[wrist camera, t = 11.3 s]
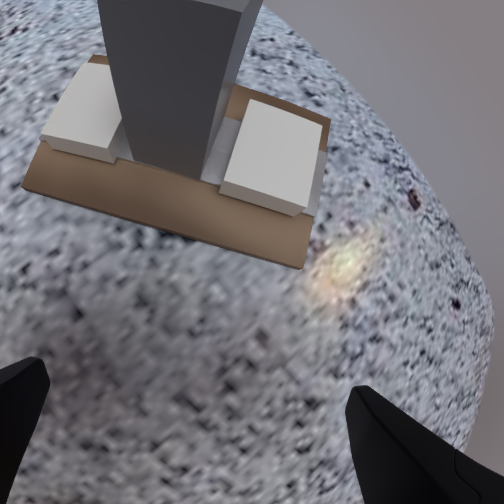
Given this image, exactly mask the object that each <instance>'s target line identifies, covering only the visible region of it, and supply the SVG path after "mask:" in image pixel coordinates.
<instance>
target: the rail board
mask: <svg viewBox="0 0 504 504" xmlns="http://www.w3.org/2000/svg"><path fill="white" fill-rule="evenodd" d="M87 63H96V64H103V65H109V62H108V57H107V56H102V55H94V54H93V55H92V57H91V58H90V60H89V61H88V62H87ZM250 99H252V100H255V101H258V102H261V103H264V104H267V105H270V106H273V107H276V108H278V109H281V110H284V111H287V112H289V113H292V114H295V115H297V116H300V117H302V118H305V119H307V120H310V121H312V122H315V123H317V124H320V125H322V131H321V137H320V143H319V148H318V150H321V151H323V152H326V147H327V141H328V134H329V128H330V121H331V119H329V118H327V117H324V116H322V115H320V114H317V113H315V112H312V111H310V110H307V109H305V108H302V107H300V106H297V105H295V104H292V103H289V102H287V101H284V100H281V99H279V98H276V97H273V96H270V95H267V94H264V93H261V92H258V91H255V90H252V89H249V88H246V87H243V86H240V85H237V84H234V87H233V90H232V93H231V96H230V100H229V103H228V106H227V110H226V113H225V116H224V117H227V118H230V119H234V120H237V121H240V122H241V121H242V118H243V115H244V113H245V110H246V108H247V105H248V103H249V101H250ZM21 187H22V188H23V189H25V190H26V191H30V192H33V193H36V194H40V195H43V196H47V197H50V198H53V199H57V200H60V201H63V202H67V203H70V204H74V205H77V206H80V207H84V208H87V209H91V210H94V211H97V212H101V213H104V214H108V215H111V216H114V217H118V218H121V219H125V220H128V221H132V222H135V223H138V224H142V225H145V226H149V227H152V228H156V229H159V230H162V231H166V232H169V233H173V234H176V235H180V236H183V237H187V238H190V239H193V240H197V241H200V242H204V243H207V244H211V245H214V246H218V247H221V248H225V249H228V250H232V251H235V252H238V253H242V254H245V255H249V256H252V257H256V258H259V259H263V260H266V261H270V262H273V263H277V264H280V265H284V266H287V267H291V268H294V269H298V270H300V269H303V267H304V262H305V257H306V253H307V248H308V243H309V238H310V233H311V229H312V224H313V218H312V217H309V216H306V215H303V214H300V213H299V214H297V215H296V216H294V217H293V216H290V215H287V214H284V213H281V212H278V211H275V210H272V209H268V208H265V207H262V206H259V205H256V204H253V203H250V202H246V201H243V200H240V199H237V198H234V197H230V196H227V195H224V194H220V193H219V190H220V188H219V187H215V186H212V185H209V184H205V183H202V182H199V181H195V180H192V179H188V178H185V177H181V176H178V175H174V174H171V173H167V172H164V171H160V170H156V169H153V168H149V167H145V166H141V165H138V164H134V163H130V162H126V161H122V160H118V159H116V160H115V162H114V164H113V163H109V162H105V161H101V160H97V159H93V158H89V157H85V156H81V155H77V154H73V153H69V152H64V151H60V150H56V149H52V148H51V147H50V145H49V144H48V143H46V142H42V141H41V142H40V145H39V147H38V149H37V151H36V153H35V155H34V157H33V160H32V162H31V164H30V166H29V169H28V171H27V173H26V176H25V178H24V181H23V183H22V186H21Z"/></svg>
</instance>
